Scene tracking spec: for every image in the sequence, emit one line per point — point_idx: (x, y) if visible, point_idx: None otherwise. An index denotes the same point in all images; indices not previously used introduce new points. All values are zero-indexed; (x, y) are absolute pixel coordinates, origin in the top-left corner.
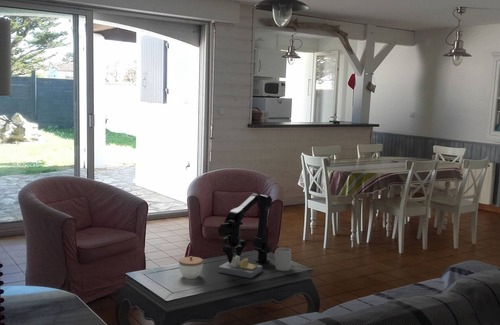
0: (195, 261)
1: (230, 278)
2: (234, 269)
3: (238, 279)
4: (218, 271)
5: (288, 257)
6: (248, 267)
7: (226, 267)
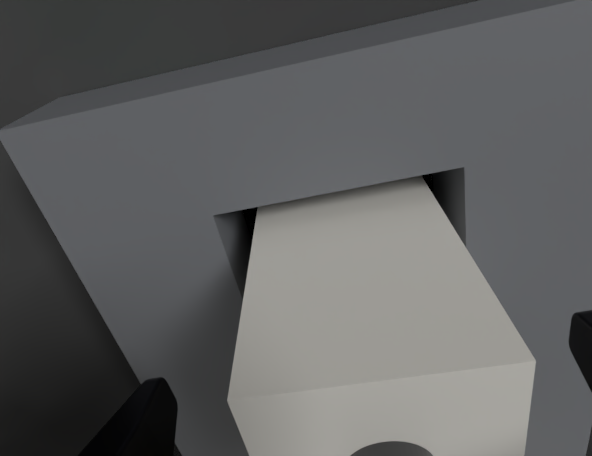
0: None
1: (53, 382)
2: None
3: None
4: (53, 103)
5: None
6: None
7: (125, 280)
